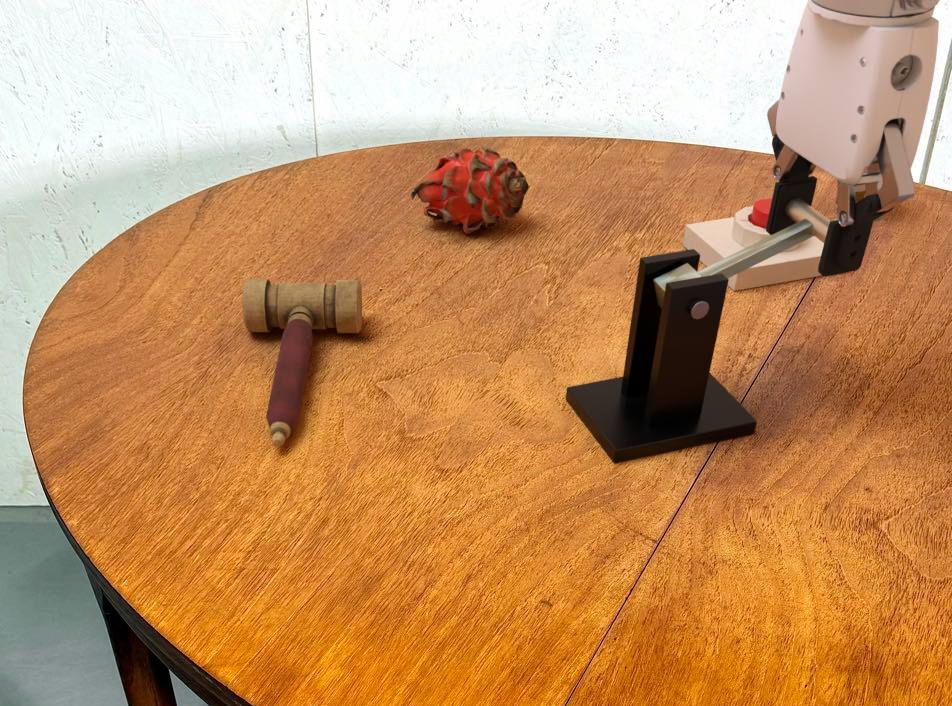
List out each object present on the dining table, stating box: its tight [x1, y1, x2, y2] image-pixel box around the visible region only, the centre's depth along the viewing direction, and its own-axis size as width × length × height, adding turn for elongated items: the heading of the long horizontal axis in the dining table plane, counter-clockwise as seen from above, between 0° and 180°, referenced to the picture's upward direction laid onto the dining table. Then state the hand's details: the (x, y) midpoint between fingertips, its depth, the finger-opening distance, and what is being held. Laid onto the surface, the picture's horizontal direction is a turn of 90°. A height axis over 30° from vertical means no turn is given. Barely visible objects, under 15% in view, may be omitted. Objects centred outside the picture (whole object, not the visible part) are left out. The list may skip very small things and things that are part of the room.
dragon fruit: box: [410, 146, 531, 235], centre depth 108 cm, size 8×8×12 cm
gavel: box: [241, 278, 363, 448], centre depth 87 cm, size 21×5×10 cm
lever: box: [653, 198, 832, 308], centre depth 77 cm, size 13×6×2 cm, turn 107°
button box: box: [682, 205, 824, 292], centre depth 103 cm, size 12×10×4 cm
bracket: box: [565, 249, 758, 464], centre depth 80 cm, size 12×9×13 cm
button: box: [750, 198, 772, 229], centre depth 101 cm, size 4×4×2 cm
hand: (811, 248), depth 78 cm, fingers closed on lever, 6 cm apart
